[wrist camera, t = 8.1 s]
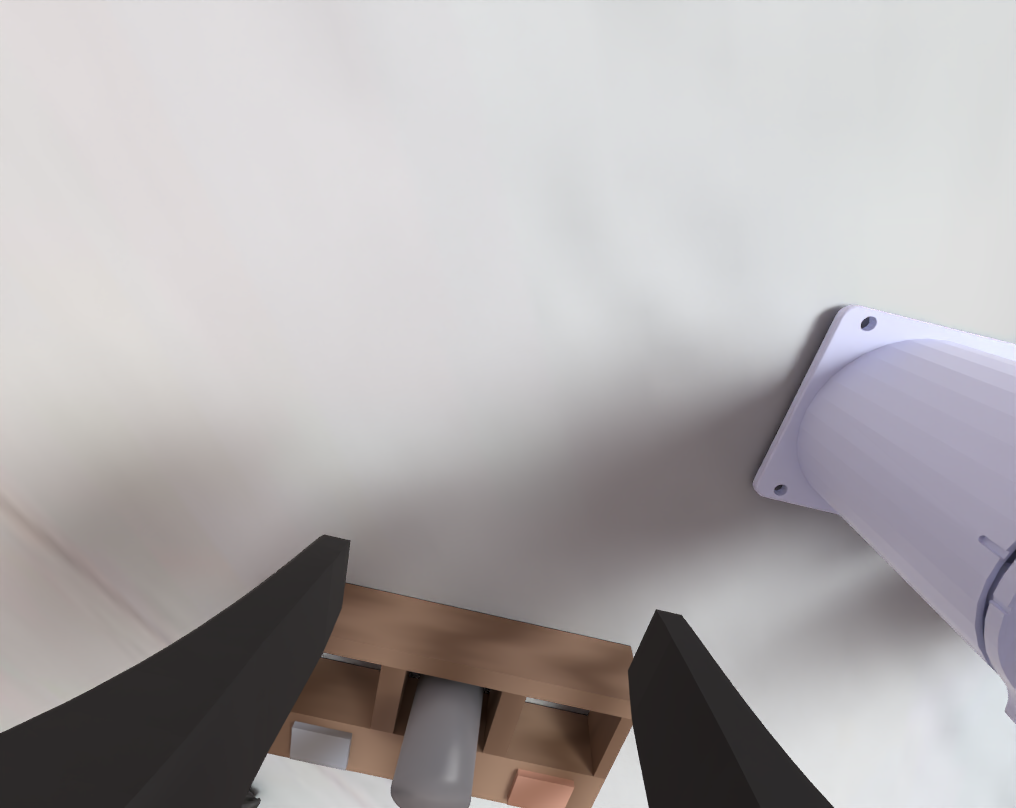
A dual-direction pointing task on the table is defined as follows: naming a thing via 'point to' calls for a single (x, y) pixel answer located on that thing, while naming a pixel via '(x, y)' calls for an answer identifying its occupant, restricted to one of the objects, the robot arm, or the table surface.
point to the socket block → (477, 661)
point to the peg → (439, 746)
